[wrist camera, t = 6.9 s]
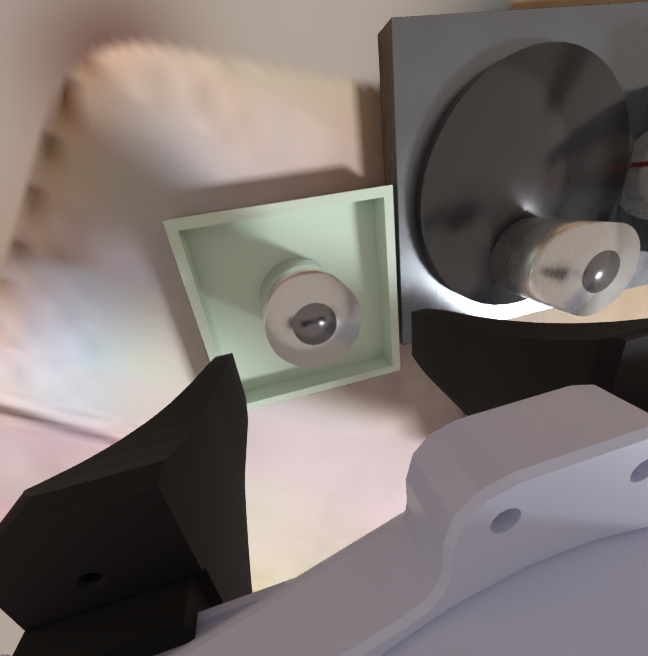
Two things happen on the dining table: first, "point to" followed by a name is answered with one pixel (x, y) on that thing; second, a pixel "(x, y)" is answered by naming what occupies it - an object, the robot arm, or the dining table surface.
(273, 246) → the tray
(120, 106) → the dining table surface
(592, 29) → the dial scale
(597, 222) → the spacer
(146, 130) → the dining table surface
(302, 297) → the cylinder
